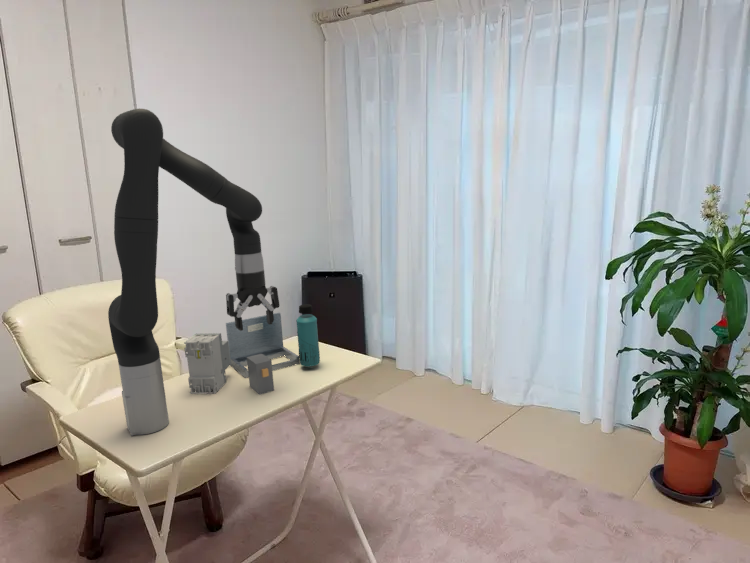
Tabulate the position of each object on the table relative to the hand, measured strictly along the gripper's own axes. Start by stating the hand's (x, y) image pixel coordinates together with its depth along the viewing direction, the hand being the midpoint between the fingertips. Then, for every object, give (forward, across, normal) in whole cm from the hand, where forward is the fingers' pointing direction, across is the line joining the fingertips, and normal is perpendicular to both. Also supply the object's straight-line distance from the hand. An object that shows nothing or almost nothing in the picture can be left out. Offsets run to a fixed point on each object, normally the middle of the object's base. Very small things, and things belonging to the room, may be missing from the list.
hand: (255, 326), depth 150 cm
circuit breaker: (+18, -10, +13) cm, 24 cm away
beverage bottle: (+18, +18, +5) cm, 26 cm away
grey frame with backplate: (+18, +8, +17) cm, 26 cm away
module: (+18, 0, 0) cm, 18 cm away
